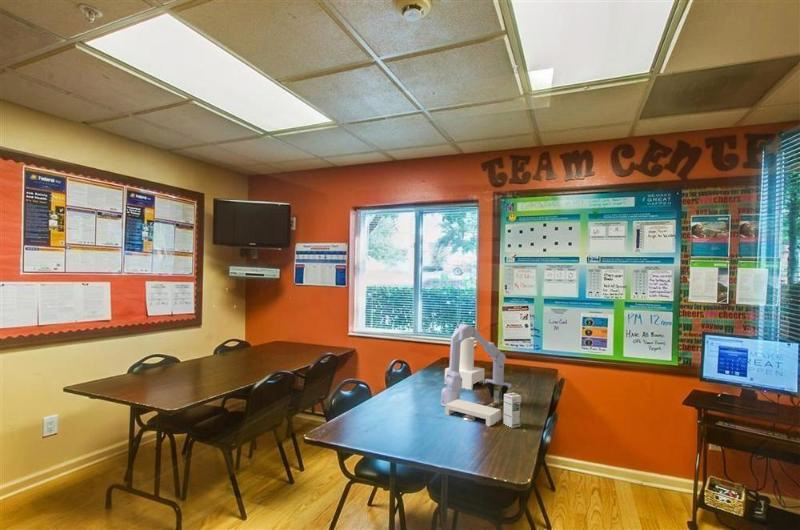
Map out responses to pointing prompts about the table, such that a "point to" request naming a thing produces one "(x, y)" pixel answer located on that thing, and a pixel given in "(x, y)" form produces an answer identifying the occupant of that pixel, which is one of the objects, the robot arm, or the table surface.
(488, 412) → the low shelf
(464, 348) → the white column on base
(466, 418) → the steel disc
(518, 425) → the syrup box
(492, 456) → the table surface
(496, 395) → the gray rectangular block
